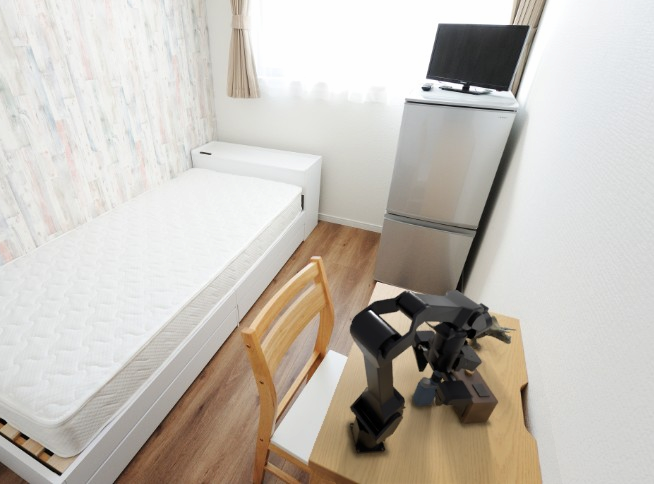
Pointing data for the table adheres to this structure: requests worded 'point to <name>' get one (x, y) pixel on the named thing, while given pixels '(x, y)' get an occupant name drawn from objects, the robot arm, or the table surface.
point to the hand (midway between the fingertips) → (429, 387)
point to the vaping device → (426, 389)
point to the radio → (475, 398)
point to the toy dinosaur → (491, 333)
